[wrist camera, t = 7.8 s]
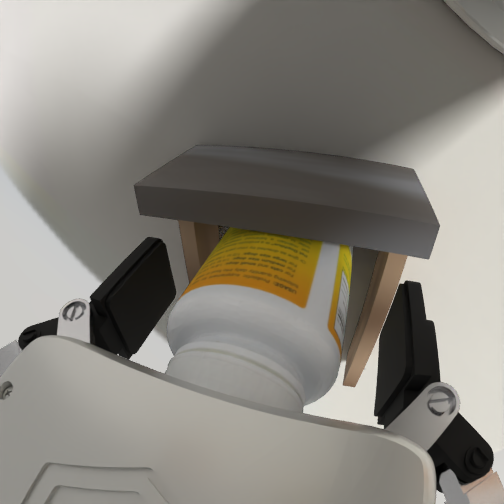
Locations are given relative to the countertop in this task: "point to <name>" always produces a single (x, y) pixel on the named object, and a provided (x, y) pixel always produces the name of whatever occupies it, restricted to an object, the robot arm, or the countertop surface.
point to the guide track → (299, 213)
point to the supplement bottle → (264, 319)
